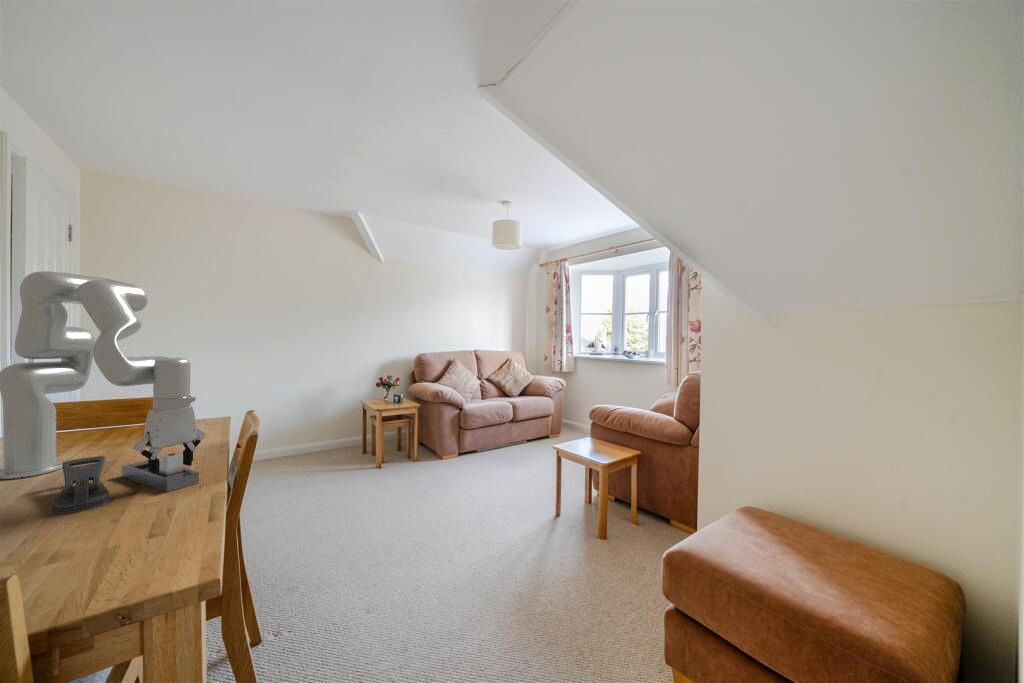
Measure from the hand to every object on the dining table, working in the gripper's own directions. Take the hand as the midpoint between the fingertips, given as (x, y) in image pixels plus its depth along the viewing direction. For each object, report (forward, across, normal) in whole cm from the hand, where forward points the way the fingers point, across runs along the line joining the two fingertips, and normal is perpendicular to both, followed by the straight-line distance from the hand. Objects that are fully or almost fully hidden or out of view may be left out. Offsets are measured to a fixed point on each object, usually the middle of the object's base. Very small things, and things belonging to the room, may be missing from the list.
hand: (171, 468), depth 104 cm
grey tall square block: (+4, 0, 0) cm, 4 cm away
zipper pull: (+5, +14, -10) cm, 18 cm away
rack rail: (+4, 0, -6) cm, 7 cm away
